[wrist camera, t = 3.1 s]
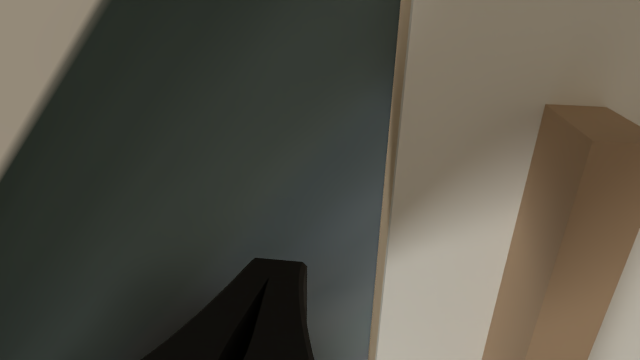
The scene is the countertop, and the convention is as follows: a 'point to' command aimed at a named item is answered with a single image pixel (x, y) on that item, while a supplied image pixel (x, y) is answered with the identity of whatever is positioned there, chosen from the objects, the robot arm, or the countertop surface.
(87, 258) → the countertop surface
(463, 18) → the mailer lid
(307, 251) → the countertop surface
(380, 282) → the mailer box
